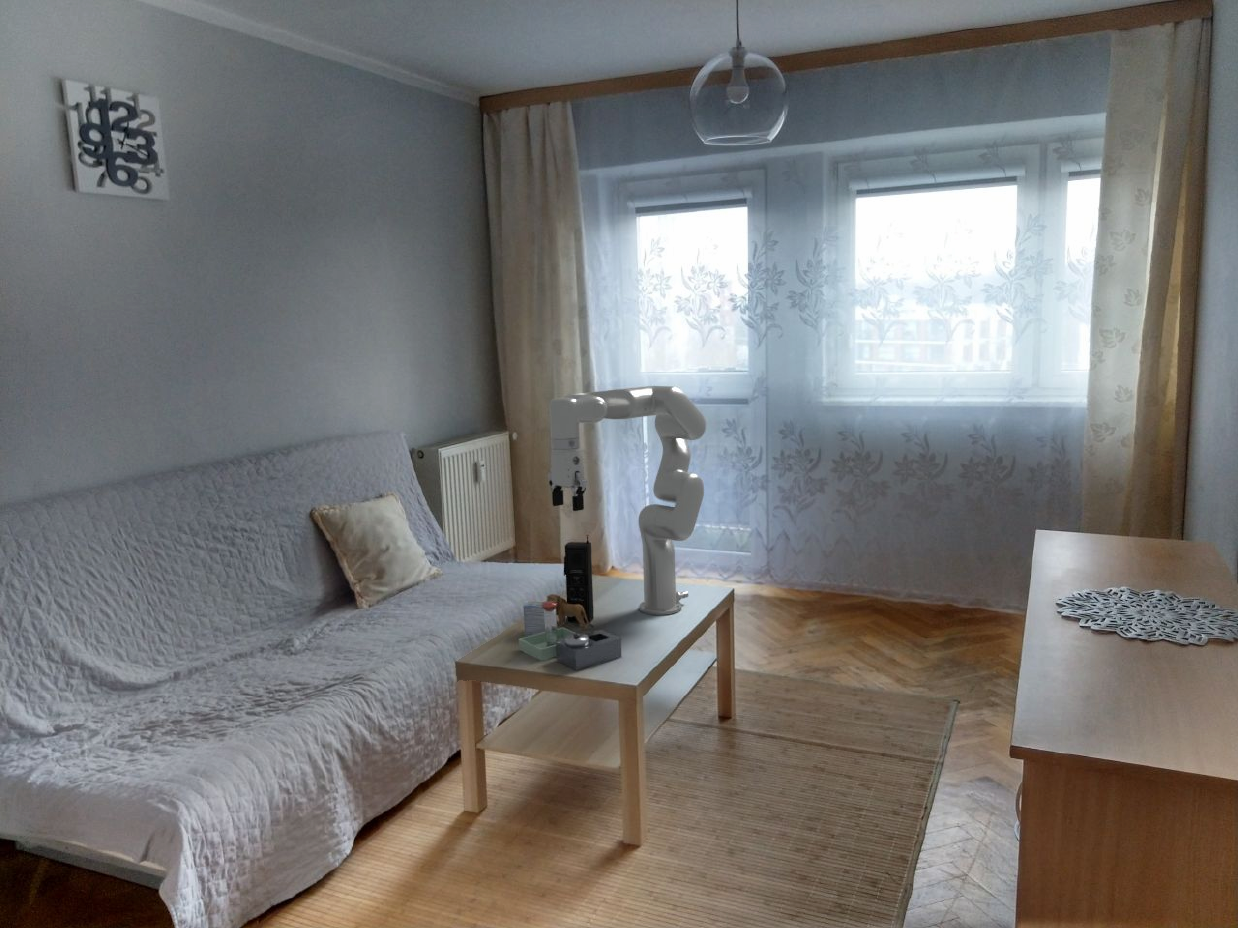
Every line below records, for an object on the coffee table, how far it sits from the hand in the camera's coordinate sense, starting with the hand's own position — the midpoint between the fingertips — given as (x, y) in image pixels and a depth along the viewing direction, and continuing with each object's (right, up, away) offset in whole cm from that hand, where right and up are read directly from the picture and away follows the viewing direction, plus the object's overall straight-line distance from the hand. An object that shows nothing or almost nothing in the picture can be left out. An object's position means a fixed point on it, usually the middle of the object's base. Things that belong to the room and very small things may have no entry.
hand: (568, 507), depth 244 cm
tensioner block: (+6, -38, -11) cm, 40 cm away
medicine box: (-8, -36, +10) cm, 38 cm away
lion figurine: (-1, -35, +15) cm, 38 cm away
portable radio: (+2, -34, +21) cm, 40 cm away
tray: (-4, -37, -3) cm, 38 cm away
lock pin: (-4, -37, -3) cm, 37 cm away
